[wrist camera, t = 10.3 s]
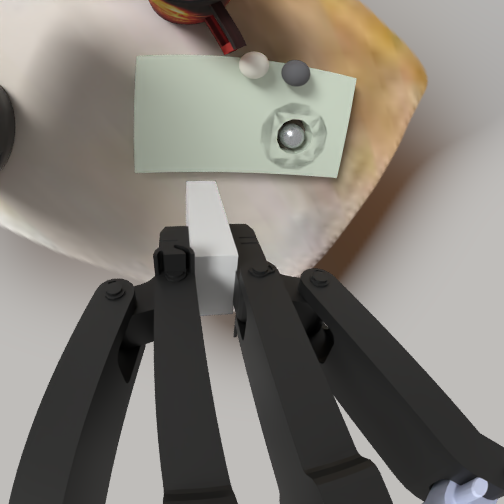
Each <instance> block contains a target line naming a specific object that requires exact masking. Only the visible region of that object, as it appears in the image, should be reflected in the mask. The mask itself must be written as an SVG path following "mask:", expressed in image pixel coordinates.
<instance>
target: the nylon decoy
mask: <svg viewBox="0 0 504 504" xmlns="http://www.w3.org/2000/svg"><path fill="white" fill-rule="evenodd" d="M239 69H240V71H241V73H242V74H243V75H244V76H245V77H247V78H250V79H258V78H261V77H263V76H264V75H265V74H266V73H267V72H268V69H269V61H268V59H267V57H266V56H265V55H264V54H262V53H260V52H256V51H252V52H248V53H246V54H244V55H243V56H242V57H241V59H240V61H239Z"/></svg>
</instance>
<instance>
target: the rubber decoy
mask: <svg viewBox="0 0 504 504" xmlns="http://www.w3.org/2000/svg"><path fill="white" fill-rule="evenodd" d="M281 75H282V78H283V80H284V81H285V82H286V83H287V84H289V85H291V86H295V87H299V86H302V85H304V84H306V83H307V82H308V80H309V79H310V69H309V67H308V66H307V65H306V64H305V63H304V62H302V61H299V60H291V61H289V62H287V63H286V64H285V65H284V66H283V67H282V71H281Z"/></svg>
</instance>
